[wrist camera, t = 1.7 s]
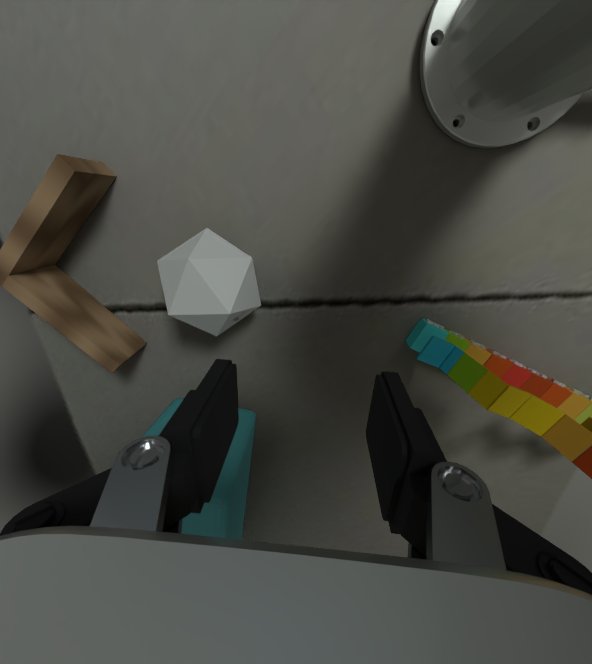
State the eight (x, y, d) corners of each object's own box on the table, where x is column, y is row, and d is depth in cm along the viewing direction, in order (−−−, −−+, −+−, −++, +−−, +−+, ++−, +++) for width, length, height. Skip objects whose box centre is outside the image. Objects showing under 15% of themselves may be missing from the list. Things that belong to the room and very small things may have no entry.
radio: (177, 372, 35) (86, 480, 21) (262, 386, 35) (226, 504, 21) (181, 543, 49) (127, 675, 35) (242, 554, 49) (212, 690, 35)
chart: (651, 424, 33) (881, 577, 20) (627, 442, 35) (828, 599, 21) (422, 314, 30) (507, 407, 16) (404, 339, 31) (470, 445, 18)
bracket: (114, 163, 26) (71, 154, 22) (148, 351, 34) (122, 374, 29) (2, 158, 27) (-63, 149, 22) (61, 344, 34) (21, 366, 30)
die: (189, 310, 32) (216, 369, 26) (130, 250, 26) (146, 310, 20) (250, 269, 33) (290, 316, 27) (207, 199, 26) (247, 241, 20)
